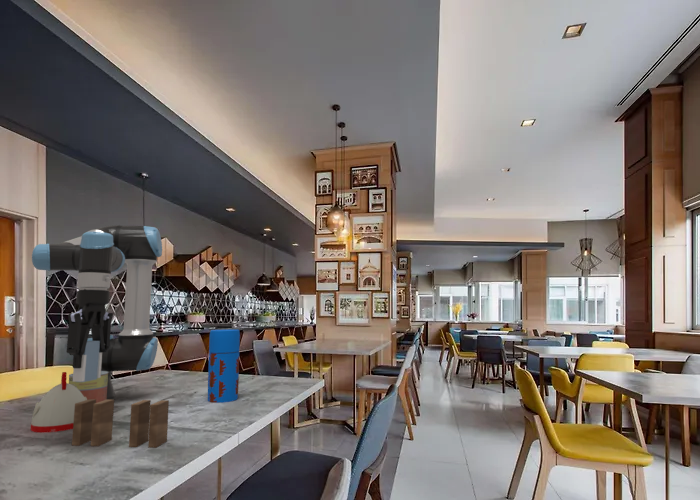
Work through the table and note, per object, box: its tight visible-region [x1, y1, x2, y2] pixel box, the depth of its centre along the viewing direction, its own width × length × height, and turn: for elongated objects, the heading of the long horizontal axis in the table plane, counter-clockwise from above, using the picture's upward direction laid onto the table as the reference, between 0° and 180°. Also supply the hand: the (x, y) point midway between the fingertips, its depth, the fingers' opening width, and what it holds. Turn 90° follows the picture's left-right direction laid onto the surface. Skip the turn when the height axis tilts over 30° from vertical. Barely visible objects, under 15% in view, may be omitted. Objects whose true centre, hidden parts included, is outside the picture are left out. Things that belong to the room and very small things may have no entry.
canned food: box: [68, 371, 109, 403], centre depth 139 cm, size 11×11×12 cm
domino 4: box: [128, 399, 151, 448], centre depth 105 cm, size 2×5×10 cm, turn 174°
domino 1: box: [79, 341, 100, 382], centre depth 109 cm, size 2×5×10 cm, turn 173°
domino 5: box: [147, 399, 170, 449], centre depth 105 cm, size 2×5×10 cm, turn 174°
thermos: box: [207, 329, 241, 404], centre depth 155 cm, size 11×11×25 cm
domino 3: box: [90, 400, 115, 447], centre depth 106 cm, size 2×5×10 cm, turn 174°
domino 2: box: [71, 399, 96, 447], centre depth 107 cm, size 2×5×10 cm, turn 175°
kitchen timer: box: [30, 371, 87, 434], centre depth 123 cm, size 14×14×15 cm
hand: (86, 379), depth 109 cm, fingers closed on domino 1, 5 cm apart
